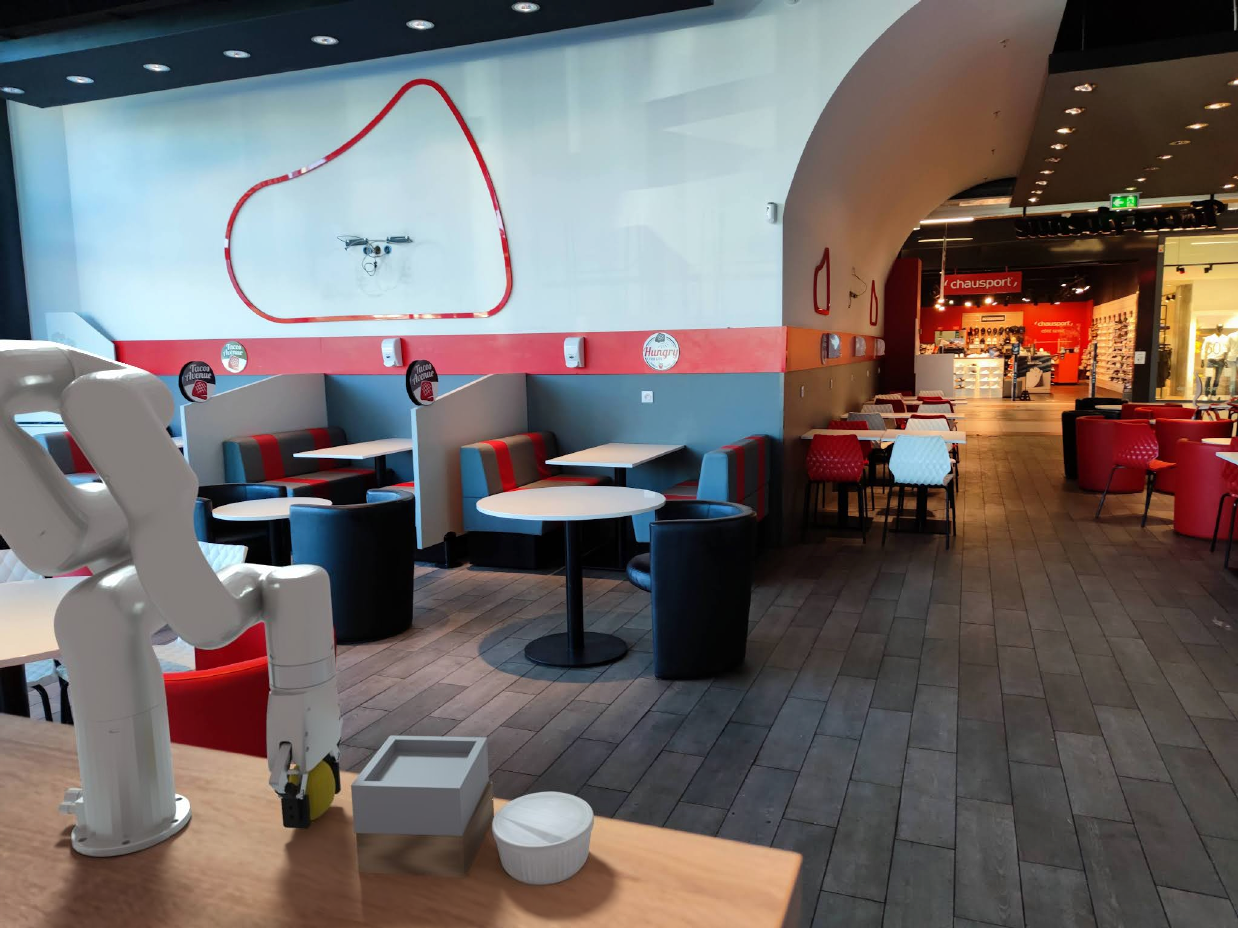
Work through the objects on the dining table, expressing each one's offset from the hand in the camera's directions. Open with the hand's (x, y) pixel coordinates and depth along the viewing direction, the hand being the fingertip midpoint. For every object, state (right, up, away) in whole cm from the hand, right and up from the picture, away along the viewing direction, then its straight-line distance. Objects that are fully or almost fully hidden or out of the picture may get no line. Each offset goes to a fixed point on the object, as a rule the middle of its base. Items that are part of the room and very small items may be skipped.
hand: (313, 807), depth 105 cm
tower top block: (+15, +3, -6) cm, 16 cm away
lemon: (0, -2, 0) cm, 2 cm away
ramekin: (+29, -2, -9) cm, 31 cm away
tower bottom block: (+15, -2, -5) cm, 17 cm away
